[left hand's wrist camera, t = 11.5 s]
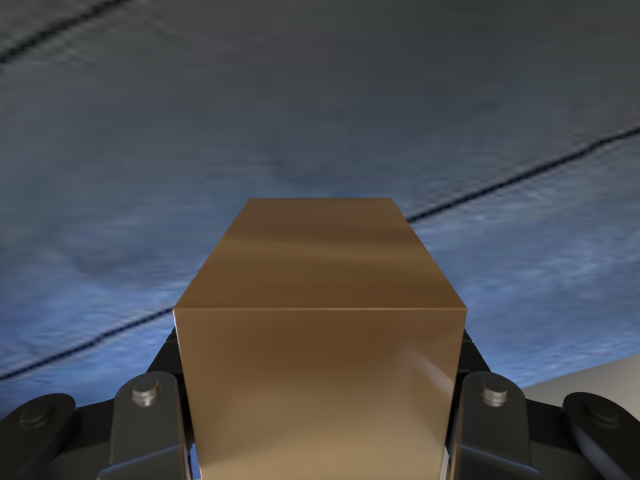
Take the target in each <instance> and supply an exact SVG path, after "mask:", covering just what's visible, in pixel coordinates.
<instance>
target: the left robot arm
mask: <svg viewBox="0 0 640 480" xmlns="http://www.w3.org/2000/svg"><path fill="white" fill-rule="evenodd" d="M193 443H195V438H194V432H193V426H192V420H191V414H190V409H189V403H188V397H187V391H186V385H185V379H184V373H183V368H182V362H181V356H180V350H179V344H178V338H177V332H176V326H175V327H174V329H173V330H172V333H171V334H170V335H169V337H168V338H167V340H166V343H164V345H163V346H162V348H161V349H160V351H159V353H158V354H157V356H156V357H155V359H154V361H153V362H152V364H151V365H150V367H149V369H148V370H147V372H146V373H145V374H141V375H139V376H137V377H135V378H133V379H131V380H130V381H128V382H127V383H125V384H124V385H123V386H122V387H121V388H120V389H119V391H118V392H117V394H116V396H115V398H113V399H111V400H107V401H104V402H100V403H95V404H91V405H87V406H83V407H78V408H77V407H76V404H75V401H74V399H73V398H72V397H71V396H70V395H67V394H63V393H55V394H48V395H44V396H41V397H38V398H35V399H33V400H31V401H28V402H27V403H25V404H23V405H21V406H20V407H18V408H17V409H15V410H14V411H13V412H11V413H10V414H9V415H8V416H6V417H5V418H4V419H3V420H2V421H1V422H0V480H194V475H193V467H192V460H191V455H190V450H191V448H192V445H193ZM445 446H446V449H447V451H448V454H449V460H448V467H447V475H446V480H640V422H639V421H638V420H637V419H636V418H635V417H633V416H632V415H631V414H630V413H629V412H628V411H626V410H625V409H624V408H622V407H621V406H619V405H618V404H616V403H614V402H612V401H611V400H608V399H606V398H604V397H601V396H599V395H595V394H591V393H586V392H575V393H571V394H569V395H567V396H566V397H565V399H564V402H563V405H562V407H558V406H554V405H549V404H545V403H541V402H536V401H532V400H529V399H526V398H525V396H524V394H523V392H522V391H521V389H520V388H519V387H518V386H517V385H516V384H515V383H513V382H512V381H510V380H509V379H507V378H505V377H503V376H501V375H499V374H495V373H492V372H491V371H490V369H489V367H488V366H487V364H486V362H485V361H484V359H483V358H482V356H481V354H480V353H479V351H478V350H477V348H476V346H475V345H474V343H472V340H471V338H470V337H469V335H468V333H466V330H465V329H464V332H463V338H462V344H461V350H460V356H459V362H458V369H457V375H456V381H455V387H454V393H453V399H452V405H451V411H450V417H449V423H448V429H447V435H446V441H445Z"/></svg>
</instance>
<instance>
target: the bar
mask: <svg viewBox="0 0 640 480" xmlns="http://www.w3.org/2000/svg"><path fill="white" fill-rule="evenodd" d="M466 314H467V307H466V306H465V305H464V303H463V302H462V300H461V299H460V297H459V296H458V294H457V293H456V292H455V290H454V289H453V287H452V286H451V284H450V283H449V281H448V280H447V279H446V277H445V276H444V274H443V273H442V271H441V270H440V268H439V267H438V266H437V264H436V263H435V261H434V260H433V258H432V257H431V255H430V254H429V253H428V251H427V250H426V248H425V247H424V245H423V244H422V242H421V241H420V240H419V238H418V237H417V235H416V234H415V232H414V231H413V229H412V228H411V227H410V225H409V224H408V222H407V221H406V219H405V218H404V216H403V215H402V214H401V212H400V211H399V209H398V208H397V206H396V205H395V203H394V202H393V201H392V199H391V198H250V199H249V200H248V201H247V203H246V204H245V205H244V207H243V208H242V210H241V211H240V213H239V214H238V215H237V217H236V218H235V220H234V221H233V223H232V224H231V226H230V227H229V228H228V230H227V231H226V233H225V234H224V236H223V237H222V239H221V240H220V241H219V243H218V244H217V246H216V247H215V249H214V250H213V252H212V253H211V254H210V256H209V257H208V259H207V260H206V262H205V263H204V265H203V266H202V267H201V269H200V270H199V272H198V273H197V275H196V276H195V277H194V279H193V280H192V282H191V283H190V285H189V286H188V288H187V289H186V290H185V292H184V293H183V295H182V296H181V298H180V299H179V301H178V302H177V303H176V305H175V306H174V308H173V315H174V321H175V326H176V332H177V338H178V344H179V350H180V356H181V362H182V368H183V373H184V379H185V385H186V391H187V397H188V403H189V409H190V414H191V420H192V426H193V432H194V438H195V444H196V450H197V456H198V461H199V467H200V473H201V479H202V480H439V477H440V471H441V465H442V459H443V453H444V447H445V441H446V435H447V429H448V423H449V417H450V411H451V405H452V399H453V393H454V387H455V381H456V375H457V369H458V362H459V356H460V350H461V344H462V338H463V332H464V326H465V320H466Z"/></svg>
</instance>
